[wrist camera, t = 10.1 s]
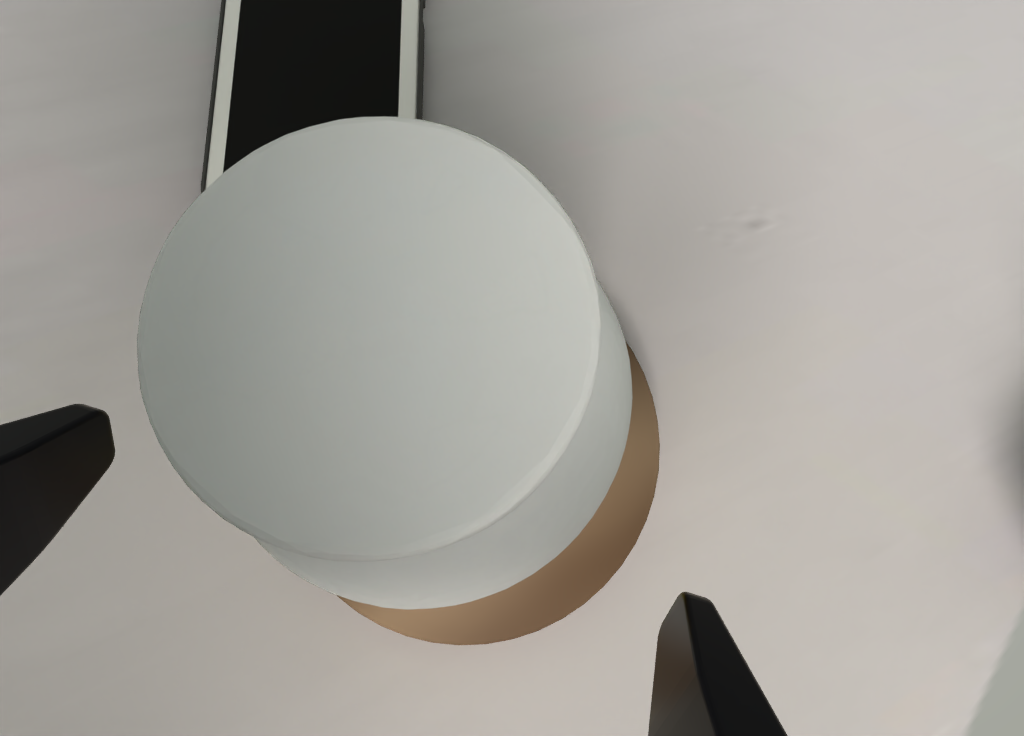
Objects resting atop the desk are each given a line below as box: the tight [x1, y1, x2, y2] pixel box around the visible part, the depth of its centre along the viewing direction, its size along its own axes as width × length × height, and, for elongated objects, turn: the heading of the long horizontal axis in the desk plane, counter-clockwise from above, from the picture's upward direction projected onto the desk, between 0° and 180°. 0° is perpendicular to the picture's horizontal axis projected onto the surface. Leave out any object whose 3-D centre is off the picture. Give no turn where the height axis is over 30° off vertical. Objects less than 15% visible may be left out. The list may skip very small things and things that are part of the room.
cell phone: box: [201, 0, 425, 194], centre depth 23 cm, size 8×15×1 cm, turn 1°
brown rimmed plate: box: [337, 341, 660, 645], centre depth 19 cm, size 12×12×2 cm
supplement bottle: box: [137, 116, 632, 610], centre depth 12 cm, size 7×7×13 cm
